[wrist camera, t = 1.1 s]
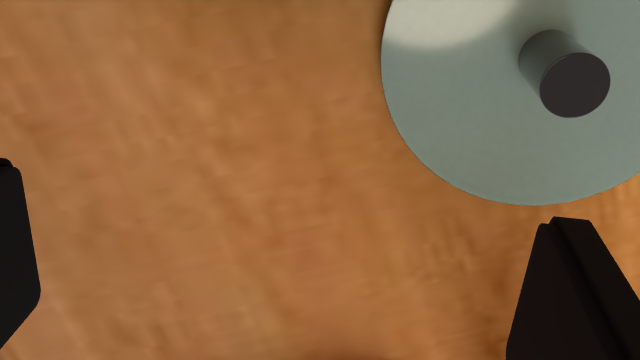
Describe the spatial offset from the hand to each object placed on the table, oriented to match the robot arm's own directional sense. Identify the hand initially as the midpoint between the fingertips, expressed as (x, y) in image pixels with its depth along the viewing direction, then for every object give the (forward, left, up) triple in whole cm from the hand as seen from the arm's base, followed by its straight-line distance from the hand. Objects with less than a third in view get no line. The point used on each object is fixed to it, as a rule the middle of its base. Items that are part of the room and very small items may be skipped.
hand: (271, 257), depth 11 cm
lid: (+8, +7, -23) cm, 25 cm away
